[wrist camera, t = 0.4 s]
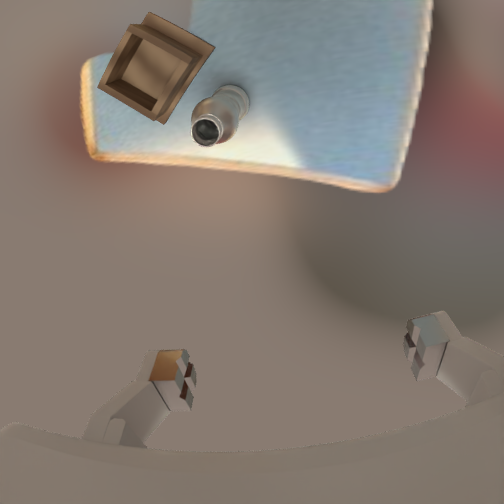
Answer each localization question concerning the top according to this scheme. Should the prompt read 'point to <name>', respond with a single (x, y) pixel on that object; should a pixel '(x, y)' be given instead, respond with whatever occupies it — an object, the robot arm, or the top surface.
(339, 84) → the top surface
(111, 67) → the bottle caddy
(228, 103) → the plastic bottle
